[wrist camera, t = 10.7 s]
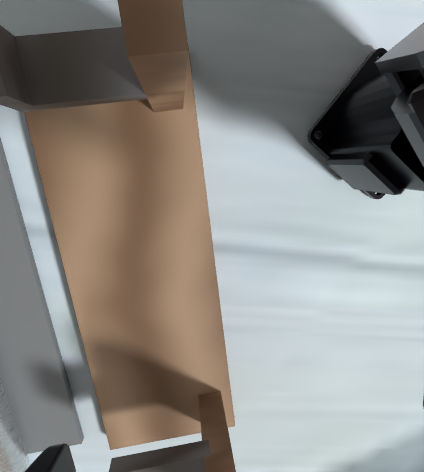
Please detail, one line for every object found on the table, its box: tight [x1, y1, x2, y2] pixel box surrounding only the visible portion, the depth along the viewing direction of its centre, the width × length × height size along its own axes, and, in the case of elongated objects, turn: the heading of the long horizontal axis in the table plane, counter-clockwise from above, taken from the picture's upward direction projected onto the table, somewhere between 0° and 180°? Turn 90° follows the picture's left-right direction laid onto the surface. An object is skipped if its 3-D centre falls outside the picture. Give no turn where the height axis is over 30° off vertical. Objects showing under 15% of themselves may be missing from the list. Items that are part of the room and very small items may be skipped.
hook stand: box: [0, 0, 236, 472], centre depth 15 cm, size 9×25×10 cm, turn 7°
